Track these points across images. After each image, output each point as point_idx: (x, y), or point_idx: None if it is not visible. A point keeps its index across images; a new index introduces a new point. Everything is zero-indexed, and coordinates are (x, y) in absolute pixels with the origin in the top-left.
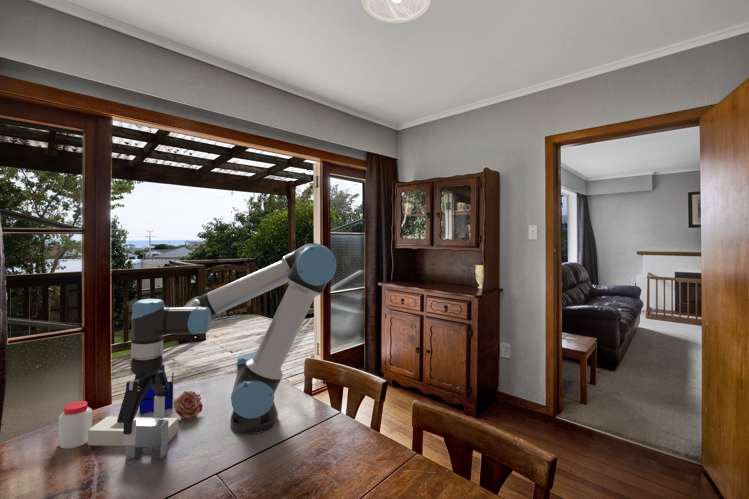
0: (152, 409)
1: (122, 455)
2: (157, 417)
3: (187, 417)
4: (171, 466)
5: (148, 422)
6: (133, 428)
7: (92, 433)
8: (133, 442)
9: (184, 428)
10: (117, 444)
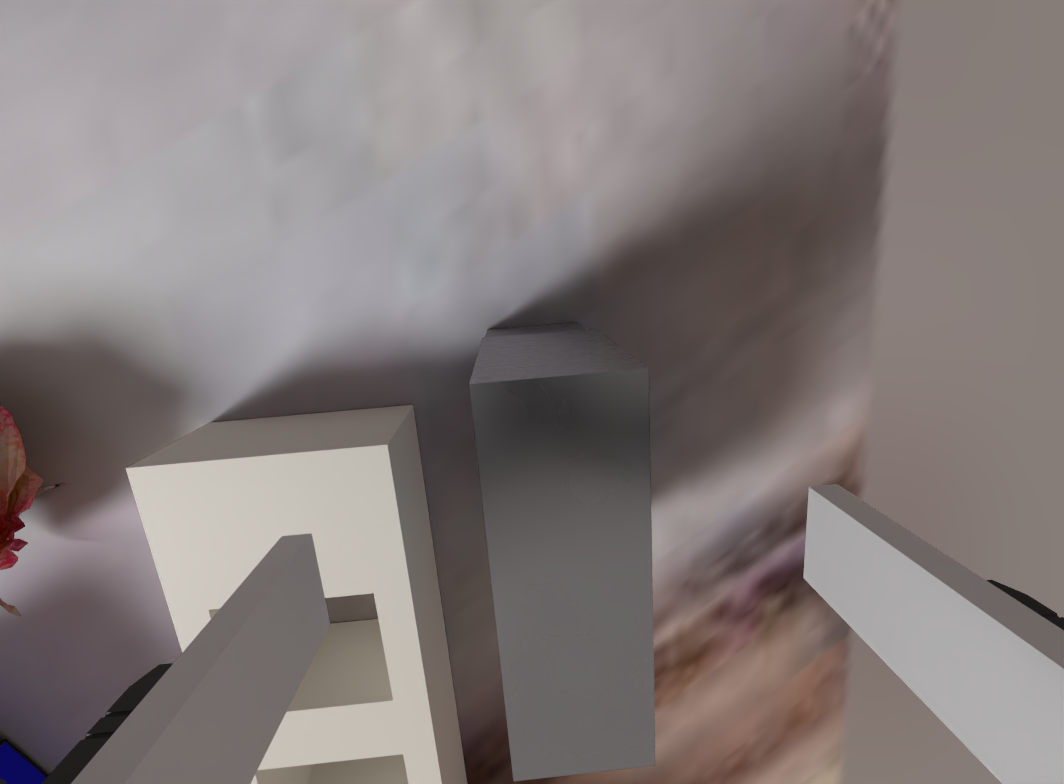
0: (3, 769)
1: None
2: (319, 596)
3: (21, 439)
4: (624, 207)
5: (570, 582)
6: (1001, 602)
7: None
8: (854, 502)
9: (147, 401)
10: (452, 686)
